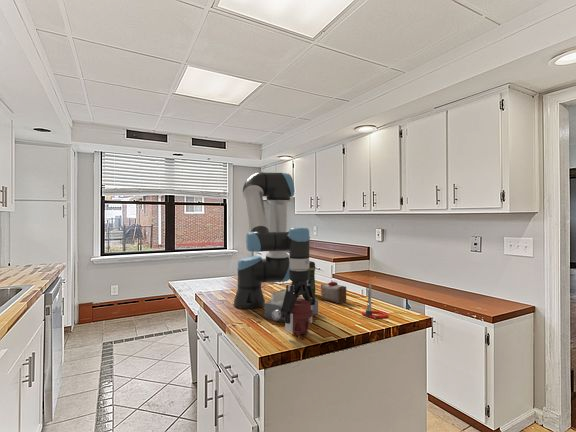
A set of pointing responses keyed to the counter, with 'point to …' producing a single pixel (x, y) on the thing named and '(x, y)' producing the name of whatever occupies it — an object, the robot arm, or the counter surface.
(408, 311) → the counter surface
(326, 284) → the food item
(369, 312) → the tow hook
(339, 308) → the counter surface
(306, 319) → the mechanical component
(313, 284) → the coffee jar
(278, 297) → the motor housing
